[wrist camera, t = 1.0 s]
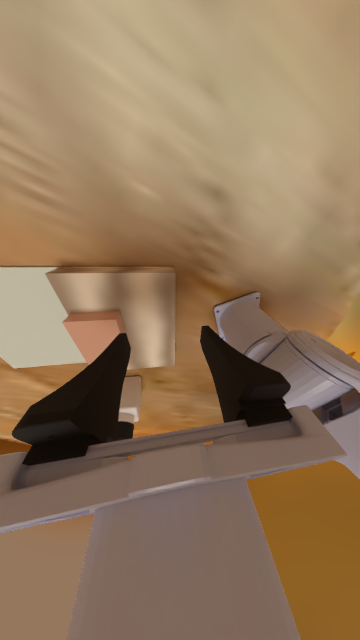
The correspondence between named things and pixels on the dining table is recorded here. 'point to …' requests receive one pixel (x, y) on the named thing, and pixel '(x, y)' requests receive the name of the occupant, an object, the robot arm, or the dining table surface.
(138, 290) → the block
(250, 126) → the dining table surface
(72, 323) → the block
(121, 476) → the robot arm
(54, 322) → the mat
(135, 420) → the medicine bottle
